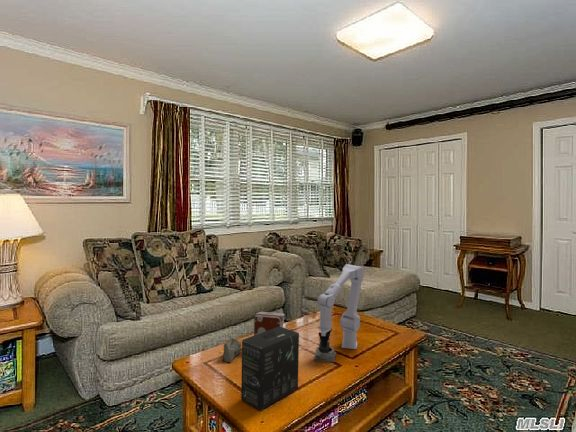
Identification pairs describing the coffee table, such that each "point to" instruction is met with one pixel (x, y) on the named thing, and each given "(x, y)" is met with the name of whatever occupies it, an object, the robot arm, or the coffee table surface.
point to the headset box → (269, 366)
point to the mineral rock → (231, 349)
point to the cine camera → (267, 321)
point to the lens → (324, 347)
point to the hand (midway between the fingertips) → (325, 344)
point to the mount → (325, 355)
